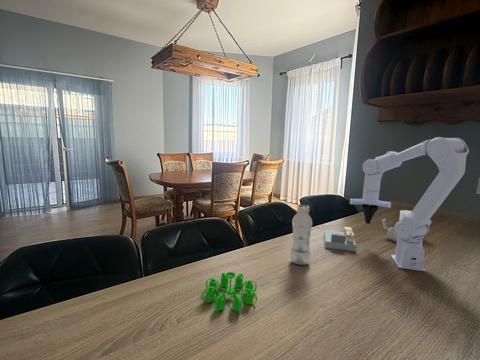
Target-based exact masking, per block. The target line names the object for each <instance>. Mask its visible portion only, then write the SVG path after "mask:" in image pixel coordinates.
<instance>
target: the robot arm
mask: <svg viewBox="0 0 480 360" xmlns="http://www.w3.org/2000/svg"><path fill="white" fill-rule="evenodd" d="M469 152H470V150H469V148H468V145H467V144H466V142H465V140H463V139H462V138H459V137H441V136H438V137H434V138H432V139H428V140H427V139H426V140H425V141H422V142H420V143H418V144H416V145H413V146H411V147H408V148H406V149H405V150H402V151H400V152H397V151H391V150H389V151H386V153H385V154H382V155H380V156H378V155H377V156H375V158H374V159H372V158H367V159H366V160H364V162H363V164H362V171H363V173H364V181H363V191H362V197H361V198H350V199H349V204H350V205H357V206H358V205H360V206H361V209H362V211H363V214H364V222H365V224H367V225H370V224H371V223H372V218H374V215H375V214H376V213H377V212H378V210H379V207H382V208H388V209H391V207H392V202H390V201H385V200H380V199H379V197H380V190H381V182H382V181H381V180H382V178H383V174H384V173H385V172H387V171H389V170H392V169H395V168H398V167H401V165H402V163H403V162H405V161H408V160H411V159H415V158H418V157H421V156H428V157H430V159H431V160H432V161H433V162H434V164H436V166H437V169H438V171H439V172H438V173H437V175H436V176H435V177H434V180H432V182H431V184H429V186H428V188H427V189H426V190H425V192H424V194H423V195H422V197H421V198H420V199H419V201H417V203H416V205H415V206H414V207H413V209H412V210H411V211H412V212H410V213H409V214H407V215H406V216H404V218H403V219H402V220H401V221H396V222H395V224H394V227H393V228H394V230H395V233H396V235H397V238H398V239H397V241H396V247H395V254H391V255H390V257H391V259H392V260H393V262H394V263H395V265H396V266H397V267H398V268H399V269H405V270H413V271H420V272H426V269H425V267H424V261H425V255H426V252H425V249H424V247H423V241H424V236H426V235H427V234H428V233H429V230H430V225H431V224H432V220H431V218H432V217H433V215H434V214H435V213H436V212H437V210H438V209H439V208H440V206H441V205H442V204H443V203H444V201H445V200H446V198H447V197H448V196H449V194H450V193H451V192H452V190H454V188H455V187H456V185H457V184H458V183H459V181H460V180H461V179H462V178H463V176H464V175H465V173H466V164H467V155H468V154H469Z"/></svg>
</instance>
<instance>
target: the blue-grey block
mask: <svg viewBox="0 0 480 360" xmlns="http://www.w3.org/2000/svg"><path fill="white" fill-rule="evenodd" d="M345 238H346V236H345V235H344V231H343V232H342V231H335V230H326V229H325V230H324V231H323V239H324V248H327V249H333V250H341V251H342V250H343V251H349V252H356V249H357V245H356V242H355V240H354V242H353V243H352V242H346V239H345Z"/></svg>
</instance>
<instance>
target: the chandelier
mask: <svg viewBox="0 0 480 360" xmlns="http://www.w3.org/2000/svg"><path fill="white" fill-rule="evenodd" d="M232 279H234V286H233V287H232ZM253 283H254V284H253ZM254 285H255V286H254ZM205 287H206V288H204V290H203V292H202V293H201V296H202V300H203V302H205V303H206V304H207V303H213V302H215V306H214V310H215V312H217V313H220V311H223V310H224V309H225V308H226V307H225V305H226V298H227V297H228V296H232V297H233V300H232V310H233V311H234V312H236V313H237V314H240V313H241V311H242V302H243V303H244V304H246V305H251V306H254V305H256V303H257V301H258V296H257V294H256V290H257V287H258V285H257V283H256V282H255V280H254V279H248V280H246V281H245V282H244V275H243V273H241V272H240V273H238V274H237V275H236V274H235V272H233V271H229V272H222V273H221V277H220V282H219V281H218V279H216V278H214V277H210V278H208V279H207V280H206V281H205ZM234 288H235V289H234ZM220 290H224V291H222V292H219V291H220ZM236 291H241V292H240V293H239V292H236ZM205 292H206V293H205ZM216 294H217V295H216ZM239 295H240V296H239ZM243 295H244V296H243ZM204 296H205V297H206V299H205V298H204ZM254 297H255V302H254Z"/></svg>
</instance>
